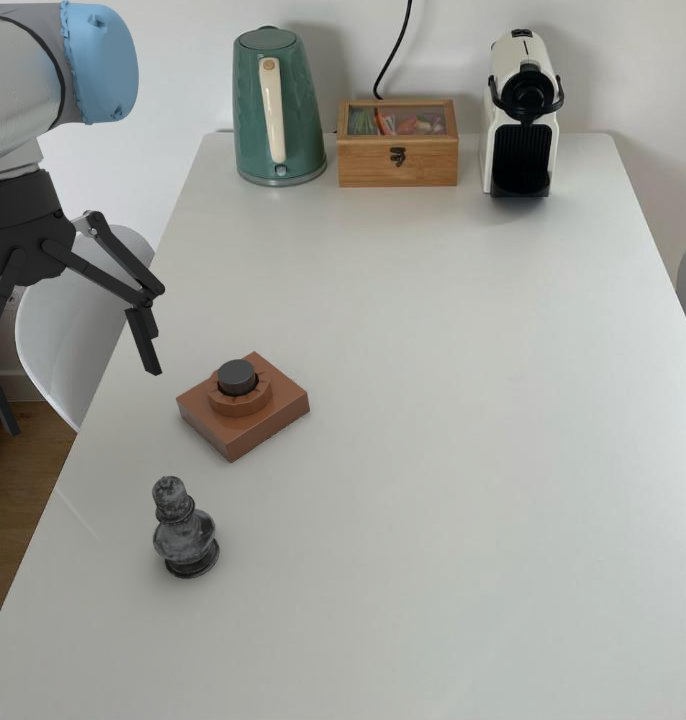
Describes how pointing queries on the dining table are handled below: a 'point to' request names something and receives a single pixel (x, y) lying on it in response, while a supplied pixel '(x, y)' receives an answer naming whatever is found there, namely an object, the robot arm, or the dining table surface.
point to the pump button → (237, 378)
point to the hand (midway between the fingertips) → (87, 400)
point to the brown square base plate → (243, 409)
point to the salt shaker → (183, 530)
